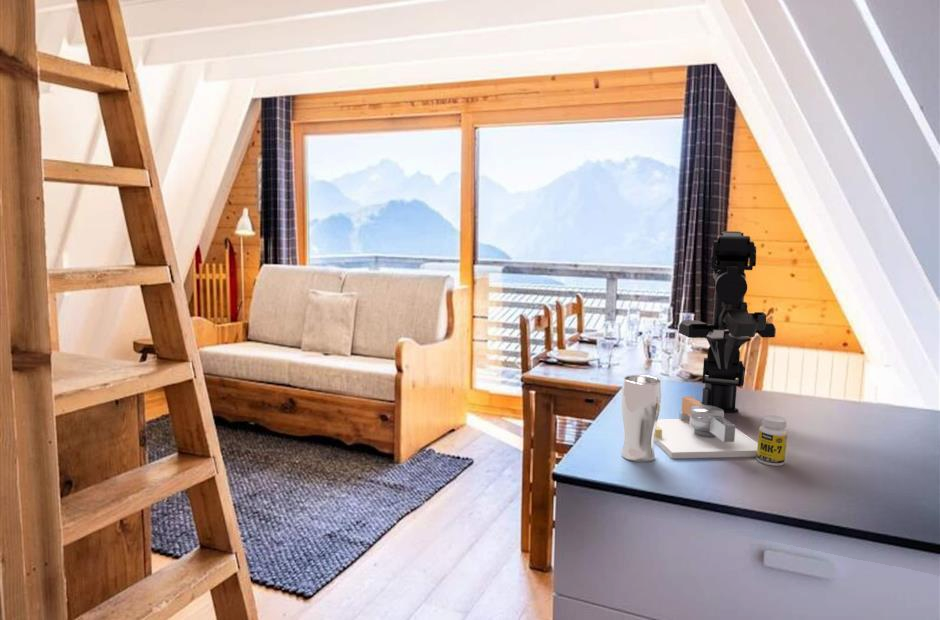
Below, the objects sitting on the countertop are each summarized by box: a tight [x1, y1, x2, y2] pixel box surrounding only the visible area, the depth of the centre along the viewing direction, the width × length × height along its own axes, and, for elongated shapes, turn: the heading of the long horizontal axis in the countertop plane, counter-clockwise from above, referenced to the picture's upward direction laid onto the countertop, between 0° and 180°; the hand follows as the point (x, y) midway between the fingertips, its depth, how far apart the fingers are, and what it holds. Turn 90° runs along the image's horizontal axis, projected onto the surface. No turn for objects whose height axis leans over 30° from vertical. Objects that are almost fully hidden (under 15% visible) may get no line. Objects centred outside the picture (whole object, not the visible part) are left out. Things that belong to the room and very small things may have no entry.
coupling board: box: [653, 411, 758, 460], centre depth 130 cm, size 19×19×3 cm
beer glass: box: [621, 374, 662, 463], centre depth 120 cm, size 7×7×15 cm
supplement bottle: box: [756, 414, 788, 467], centre depth 118 cm, size 5×5×8 cm
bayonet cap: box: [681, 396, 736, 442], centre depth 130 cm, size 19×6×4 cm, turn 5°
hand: (723, 368), depth 136 cm, fingers closed
